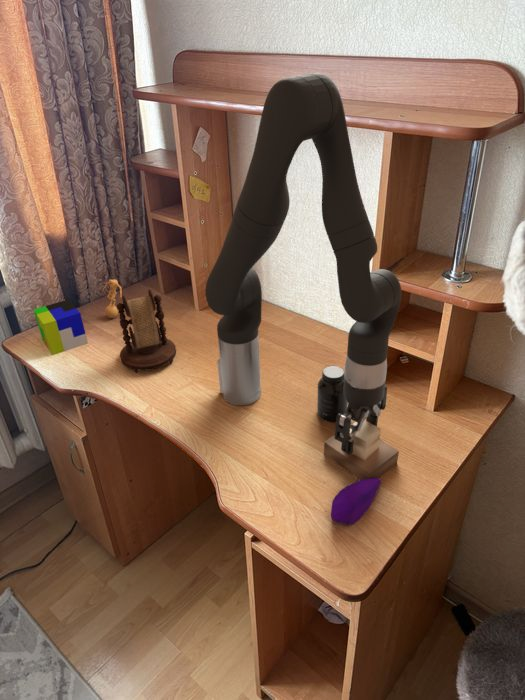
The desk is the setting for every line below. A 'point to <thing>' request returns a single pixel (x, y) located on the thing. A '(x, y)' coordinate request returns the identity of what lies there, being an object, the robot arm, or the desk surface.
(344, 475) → the desk surface
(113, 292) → the figurine
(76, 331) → the puzzle toy
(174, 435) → the desk surface
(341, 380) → the supplement bottle
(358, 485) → the purple teardrop shape
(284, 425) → the desk surface
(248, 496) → the desk surface
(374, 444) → the oak cube
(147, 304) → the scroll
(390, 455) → the walnut slab
